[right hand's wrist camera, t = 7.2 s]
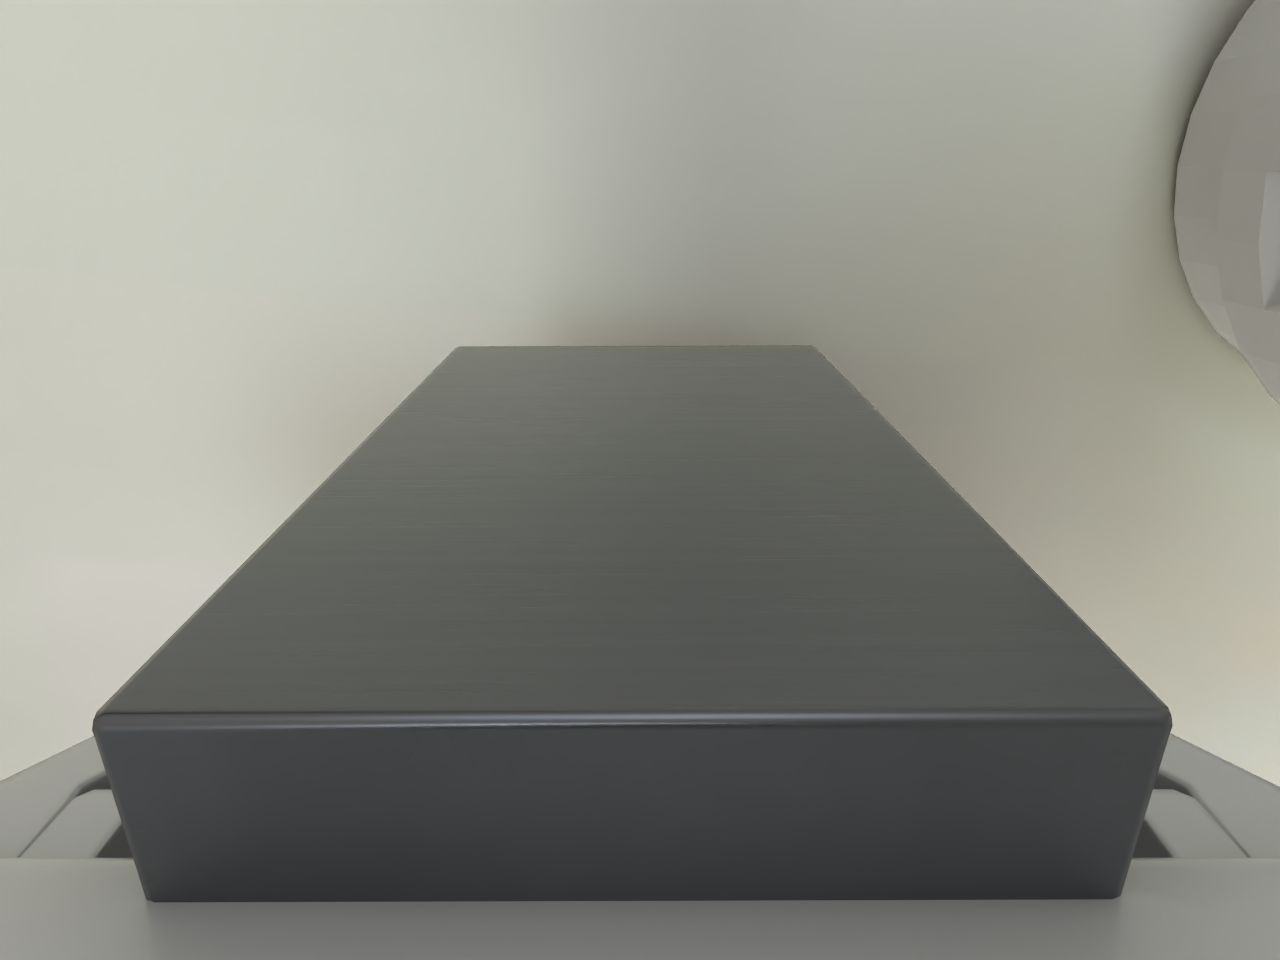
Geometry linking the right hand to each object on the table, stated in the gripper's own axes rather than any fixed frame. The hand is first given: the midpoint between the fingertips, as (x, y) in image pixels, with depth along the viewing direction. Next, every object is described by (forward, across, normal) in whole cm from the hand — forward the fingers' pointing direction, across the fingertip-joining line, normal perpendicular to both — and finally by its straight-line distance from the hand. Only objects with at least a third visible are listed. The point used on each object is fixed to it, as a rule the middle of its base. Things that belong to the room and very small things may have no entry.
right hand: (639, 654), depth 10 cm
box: (+4, 0, -9) cm, 10 cm away
